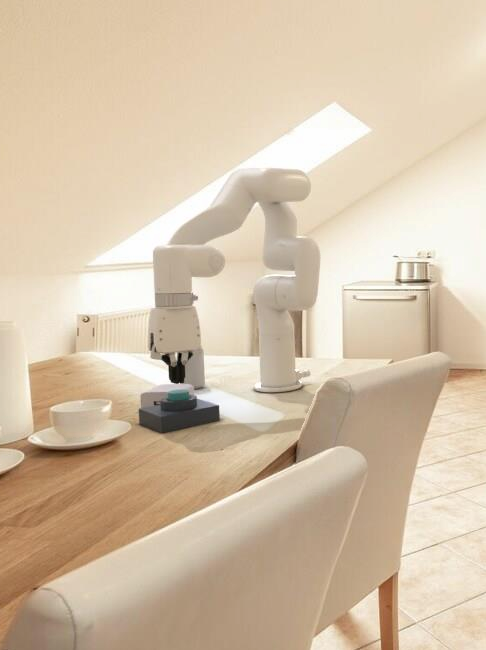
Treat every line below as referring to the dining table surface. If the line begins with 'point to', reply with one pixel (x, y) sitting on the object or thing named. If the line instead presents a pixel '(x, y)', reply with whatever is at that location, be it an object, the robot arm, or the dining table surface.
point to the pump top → (178, 395)
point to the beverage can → (195, 371)
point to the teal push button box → (178, 414)
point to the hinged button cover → (161, 393)
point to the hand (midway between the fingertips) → (177, 382)
